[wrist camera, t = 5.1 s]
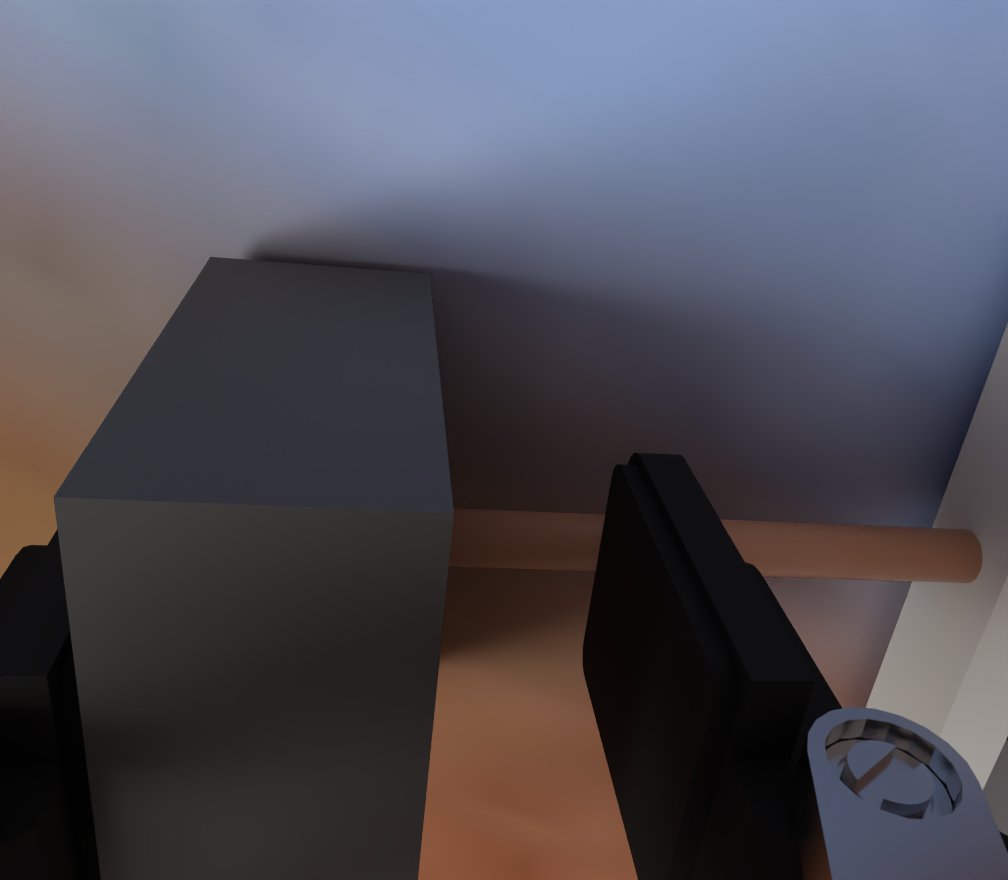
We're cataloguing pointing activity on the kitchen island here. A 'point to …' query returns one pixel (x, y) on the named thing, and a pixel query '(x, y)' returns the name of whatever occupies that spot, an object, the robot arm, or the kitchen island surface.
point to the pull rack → (384, 582)
